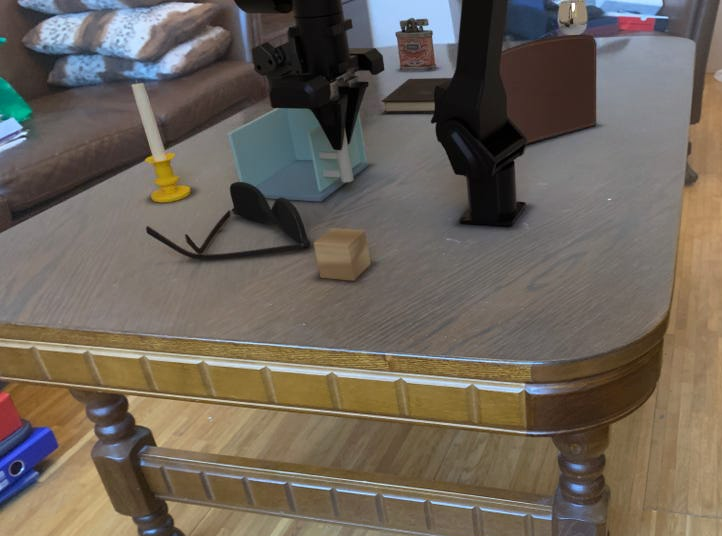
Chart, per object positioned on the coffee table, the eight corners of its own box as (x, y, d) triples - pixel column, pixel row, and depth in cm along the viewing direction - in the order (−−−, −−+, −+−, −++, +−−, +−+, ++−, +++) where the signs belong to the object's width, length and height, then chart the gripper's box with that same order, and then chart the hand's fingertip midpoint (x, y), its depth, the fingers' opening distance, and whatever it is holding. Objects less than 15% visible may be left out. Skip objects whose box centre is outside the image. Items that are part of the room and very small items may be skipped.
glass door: (349, 193, 98) (336, 118, 93) (318, 191, 100) (304, 118, 95) (386, 163, 107) (376, 94, 102) (358, 162, 109) (347, 93, 104)
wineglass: (553, 66, 154) (551, 2, 148) (577, 62, 156) (577, -2, 150) (567, 71, 150) (566, 5, 143) (592, 66, 152) (593, 1, 145)
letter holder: (597, 125, 118) (598, 28, 111) (492, 156, 110) (485, 52, 102) (557, 113, 125) (555, 21, 118) (455, 141, 117) (446, 43, 109)
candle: (151, 193, 107) (114, 78, 99) (190, 186, 108) (157, 72, 100) (152, 205, 103) (113, 86, 94) (192, 197, 104) (157, 79, 96)
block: (354, 281, 79) (347, 245, 77) (320, 278, 80) (313, 243, 78) (371, 264, 82) (365, 229, 80) (338, 261, 83) (331, 227, 81)
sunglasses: (138, 250, 90) (124, 211, 87) (246, 212, 98) (236, 174, 95) (205, 291, 79) (192, 247, 77) (320, 244, 88) (311, 203, 85)
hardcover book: (512, 112, 128) (511, 98, 127) (383, 113, 133) (381, 100, 132) (528, 88, 141) (528, 75, 140) (410, 90, 146) (409, 77, 145)
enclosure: (321, 201, 99) (308, 136, 95) (243, 197, 103) (226, 133, 98) (368, 165, 110) (358, 105, 106) (296, 162, 114) (283, 104, 109)
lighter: (397, 71, 161) (391, 20, 156) (403, 67, 164) (397, 17, 159) (433, 71, 159) (427, 19, 154) (438, 67, 162) (433, 16, 156)
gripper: (299, 2, 98) (321, 124, 107) (212, 30, 84) (246, 169, 92) (377, -1, 95) (394, 125, 103) (300, 29, 80) (327, 173, 88)
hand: (341, 146), depth 97 cm, fingers closed
